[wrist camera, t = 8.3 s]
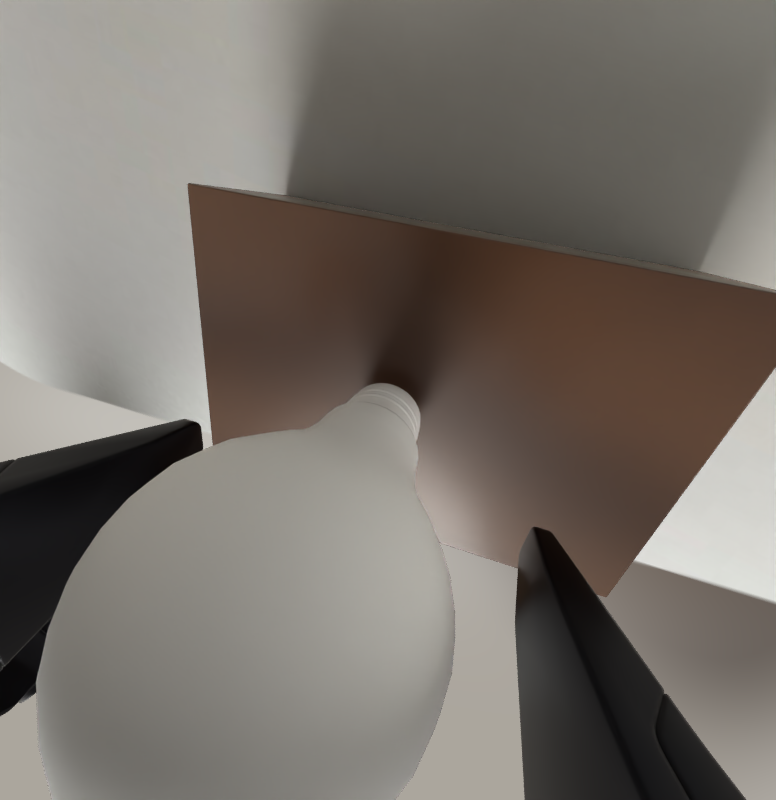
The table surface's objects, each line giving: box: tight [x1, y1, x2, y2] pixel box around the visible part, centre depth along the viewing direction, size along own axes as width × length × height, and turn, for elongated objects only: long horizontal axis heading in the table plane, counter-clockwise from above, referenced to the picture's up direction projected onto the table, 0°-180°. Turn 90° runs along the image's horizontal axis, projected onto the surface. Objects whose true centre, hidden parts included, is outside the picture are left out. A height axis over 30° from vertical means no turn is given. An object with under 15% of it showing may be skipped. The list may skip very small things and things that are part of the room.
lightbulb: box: [36, 383, 455, 800], centre depth 8 cm, size 6×6×11 cm
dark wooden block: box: [188, 183, 776, 597], centre depth 16 cm, size 12×18×6 cm, turn 81°
